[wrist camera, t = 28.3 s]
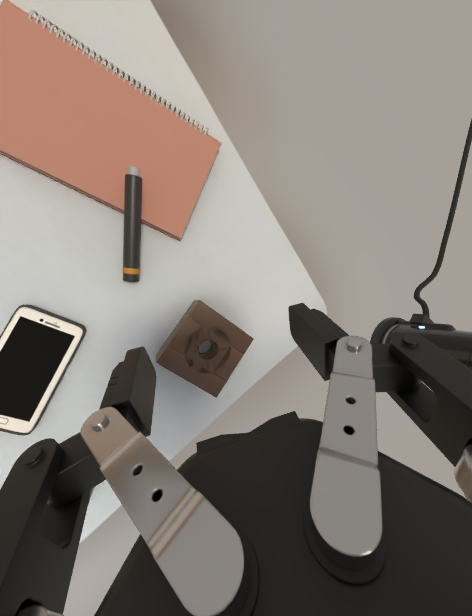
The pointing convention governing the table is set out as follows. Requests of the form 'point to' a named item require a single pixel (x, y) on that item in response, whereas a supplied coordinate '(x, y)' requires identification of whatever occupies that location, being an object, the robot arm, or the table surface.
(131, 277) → the stylus
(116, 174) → the notebook
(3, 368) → the cell phone
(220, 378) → the pen stand
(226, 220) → the table surface
